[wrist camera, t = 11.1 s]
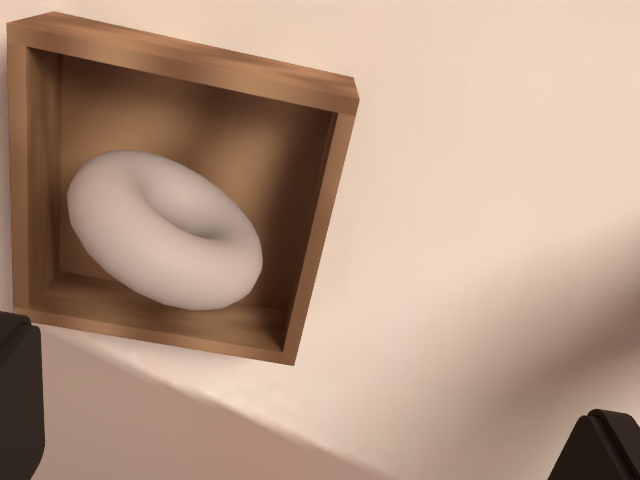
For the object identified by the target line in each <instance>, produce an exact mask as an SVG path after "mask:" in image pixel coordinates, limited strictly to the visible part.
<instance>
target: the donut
mask: <svg viewBox="0 0 640 480" xmlns="http://www.w3.org/2000/svg"><path fill="white" fill-rule="evenodd" d="M67 202H68V210H69V216H70V223H71V225H72V227H73V229H74V231H75V232H76V234H77V236H78V238H79V239H80V241H81V243H82V244H83V246H84V248H85V249H86V251H87V253H88V254H89V255H90V256H91V257H92V258H93V259H94V260H95V261H96V262H97V263H98V264H99V265H100V266H101V267H102V268H103V269H104V270H105V271H106V272H107V273H108V274H110V275H111V276H112V277H114V278H115V279H117V280H118V281H120V282H121V283H123V284H124V285H126V286H127V287H129V288H130V289H132V290H133V291H135V292H137V293H139V294H141V295H143V296H146V297H148V298H150V299H152V300H155V301H157V302H159V303H161V304H164V305H168V306H173V307H178V308H182V309H187V310H215V309H222V308H224V307H227V306H229V305H231V304H233V303H235V302H237V301H239V300H241V299H243V298H244V297H245V296H246V295H247V294H249V293H250V292H251V290H252V288H253V286H254V284H255V283H256V281H257V279H258V277H259V275H260V273H261V271H262V264H263V259H262V250H261V244H260V240H259V237H258V235H257V233H256V231H255V229H254V227H253V225H252V223H251V222H250V221H249V219H248V218H247V217H246V216H245V214H244V213H243V212H242V211H241V209H240V208H239V207H238V206H237V204H236V203H235V202H234V201H233V200H232V199H231V198H229V197H228V196H227V195H226V194H225V193H224V192H223V191H222V190H221V189H220V188H218V187H217V186H216V185H214V184H213V183H211V182H210V181H209V180H207V179H206V178H204V177H203V176H202V175H200V174H198V173H196V172H195V171H193V170H191V169H189V168H187V167H186V166H184V165H182V164H180V163H177V162H175V161H172V160H170V159H167V158H165V157H163V156H160V155H156V154H152V153H148V152H143V151H139V150H112V151H107V152H104V153H102V154H100V155H98V156H96V157H94V158H92V159H90V160H88V161H86V162H84V163H83V164H82V166H81V167H80V168H79V169H78V170H77V172H76V174H75V176H74V178H73V180H72V182H71V184H70V187H69V190H68V193H67Z"/></svg>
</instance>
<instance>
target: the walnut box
mask: <svg viewBox="0 0 640 480" xmlns="http://www.w3.org/2000/svg"><path fill="white" fill-rule="evenodd" d="M6 24H7V65H8V106H9V148H10V189H11V231H12V272H13V313H15V314H21V315H26V316H28V317H29V318H30V320H31V322H34V323H40V324H46V325H52V326H58V327H64V328H70V329H76V330H81V331H87V332H93V333H99V334H105V335H111V336H117V337H123V338H129V339H135V340H141V341H147V342H153V343H159V344H165V345H171V346H177V347H183V348H189V349H195V350H201V351H207V352H213V353H219V354H225V355H231V356H237V357H243V358H249V359H255V360H261V361H267V362H273V363H279V364H285V365H291V366H294V364H295V360H296V356H297V352H298V348H299V344H300V340H301V336H302V331H303V327H304V323H305V319H306V315H307V311H308V307H309V303H310V299H311V295H312V291H313V287H314V283H315V279H316V275H317V271H318V267H319V263H320V258H321V254H322V250H323V246H324V242H325V238H326V234H327V230H328V226H329V222H330V218H331V214H332V210H333V206H334V202H335V198H336V194H337V189H338V185H339V181H340V177H341V173H342V169H343V165H344V161H345V157H346V153H347V149H348V145H349V141H350V137H351V133H352V129H353V125H354V121H355V116H356V112H357V108H358V104H359V100H360V99H359V96H358V92H357V89H356V85H355V82H354V78H353V77H348V76H344V75H339V74H335V73H330V72H326V71H321V70H317V69H312V68H308V67H303V66H298V65H294V64H289V63H285V62H280V61H276V60H271V59H267V58H262V57H258V56H253V55H249V54H244V53H240V52H235V51H230V50H226V49H221V48H217V47H212V46H208V45H203V44H199V43H194V42H190V41H185V40H181V39H176V38H171V37H167V36H162V35H158V34H153V33H149V32H144V31H140V30H135V29H131V28H126V27H122V26H117V25H113V24H108V23H103V22H99V21H94V20H90V19H85V18H81V17H76V16H72V15H67V14H63V13H58V12H54V11H53V12H49V13H45V14H41V15H37V16H33V17H29V18H25V19H21V20H17V21H13V22H9V23H6ZM112 150H139V151H143V152H148V153H152V154H156V155H160V156H163V157H165V158H167V159H170V160H172V161H175V162H177V163H180V164H182V165H184V166H186V167H187V168H189V169H191V170H193V171H195V172H196V173H198V174H200V175H202V176H203V177H204V178H206V179H207V180H209V181H210V182H211V183H213V184H214V185H216V186H217V187H218V188H220V189H221V190H222V191H223V192H224V193H225V194H226V195H227V196H228V197H229V198H231V199H232V200H233V201H234V202H235V203H236V204H237V206H238V207H239V208H240V209H241V211H242V212H243V213H244V214H245V216H246V217H247V218H248V219H249V221H250V222H251V223H252V225H253V227H254V229H255V231H256V233H257V235H258V237H259V240H260V244H261V250H262V259H263V264H262V271H261V273H260V275H259V277H258V279H257V281H256V283H255V284H254V286H253V288H252V290H251V292H250V293H249V294H247V295H246V296H245V297H244V298H243V299H241V300H239V301H237V302H235V303H233V304H231V305H229V306H227V307H224V308H222V309H215V310H187V309H182V308H178V307H173V306H168V305H164V304H161V303H159V302H157V301H155V300H152V299H150V298H148V297H146V296H143V295H141V294H139V293H137V292H135V291H133V290H132V289H130V288H129V287H127V286H126V285H124V284H123V283H121V282H120V281H118V280H117V279H115V278H114V277H112V276H111V275H110V274H108V273H107V272H106V271H105V270H104V269H103V268H102V267H101V266H100V265H99V264H98V263H97V262H96V261H95V260H94V259H93V258H92V257H91V256H90V255H89V254H88V253H87V251H86V249H85V248H84V246H83V244H82V243H81V241H80V239H79V238H78V236H77V234H76V232H75V231H74V229H73V227H72V225H71V223H70V216H69V210H68V202H67V193H68V190H69V187H70V184H71V182H72V180H73V178H74V176H75V174H76V172H77V170H78V169H79V168H80V167H81V166H82V164H83V163H84V162H86V161H88V160H90V159H92V158H94V157H96V156H98V155H100V154H102V153H104V152H107V151H112Z"/></svg>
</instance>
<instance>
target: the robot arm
mask: <svg viewBox="0 0 640 480" xmlns="http://www.w3.org/2000/svg"><path fill="white" fill-rule="evenodd" d="M44 447H45V431H44V405H43V381H42V355H41V333H40V329H39V327H37V326H33V325H31V320H30V318H29V317H28V316H26V315H21V314H15V313H8V312H2V311H0V480H30V479H31V477H32V476H33V474H34V472H35V470H36V469H37V467H38V465H39V463H40V461H41V458H42V456H43V452H44ZM548 480H640V427H639V426H638V424H637V423H636V421H635V420H634V419H633V418H632V416H630V415H628V414H625V413H619V412H613V411H607V410H601V409H593V410H592V411H590V412H589V413H588V415H587V416H581V417H580V418H579V419H578V421H577V422H576V424H575V426H574V428H573V430H572V432H571V434H570V436H569V438H568V440H567V442H566V444H565V446H564V448H563V450H562V452H561V454H560V456H559V458H558V460H557V462H556V464H555V466H554V468H553V470H552V472H551V474H550V476H549V478H548Z"/></svg>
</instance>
